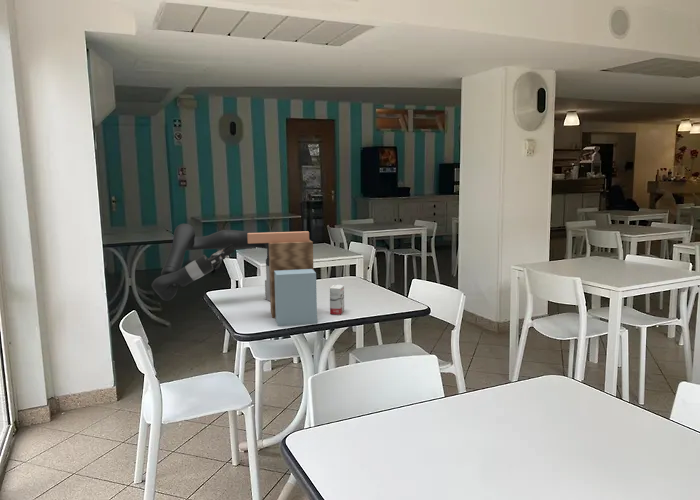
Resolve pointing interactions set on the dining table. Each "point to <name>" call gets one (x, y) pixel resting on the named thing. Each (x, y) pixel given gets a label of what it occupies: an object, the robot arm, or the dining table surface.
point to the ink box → (336, 299)
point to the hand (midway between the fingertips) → (233, 247)
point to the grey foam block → (295, 297)
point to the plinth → (288, 261)
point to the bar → (278, 237)
